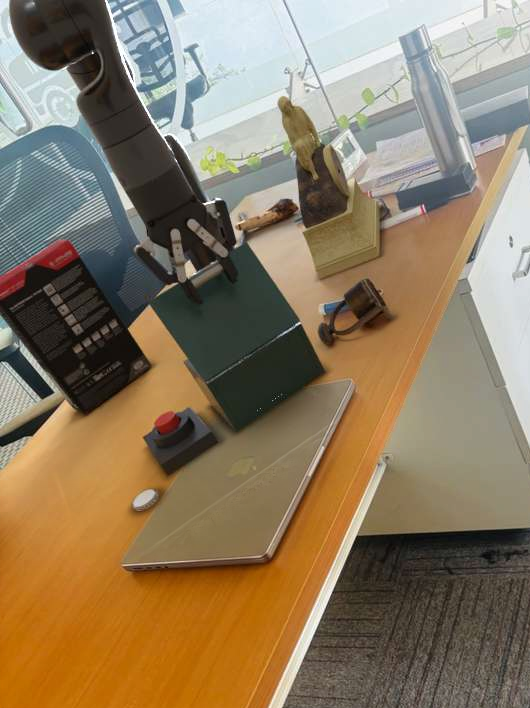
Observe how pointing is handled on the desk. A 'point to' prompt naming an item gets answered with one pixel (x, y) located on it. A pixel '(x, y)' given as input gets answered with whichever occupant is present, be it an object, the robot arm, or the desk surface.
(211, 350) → the lid
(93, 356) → the graphics card box
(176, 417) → the button
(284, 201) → the bone fish hook
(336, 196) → the decorative clock
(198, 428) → the switch block
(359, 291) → the brown handled cylinder
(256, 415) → the dark green open box
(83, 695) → the desk surface
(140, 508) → the bottle cap
